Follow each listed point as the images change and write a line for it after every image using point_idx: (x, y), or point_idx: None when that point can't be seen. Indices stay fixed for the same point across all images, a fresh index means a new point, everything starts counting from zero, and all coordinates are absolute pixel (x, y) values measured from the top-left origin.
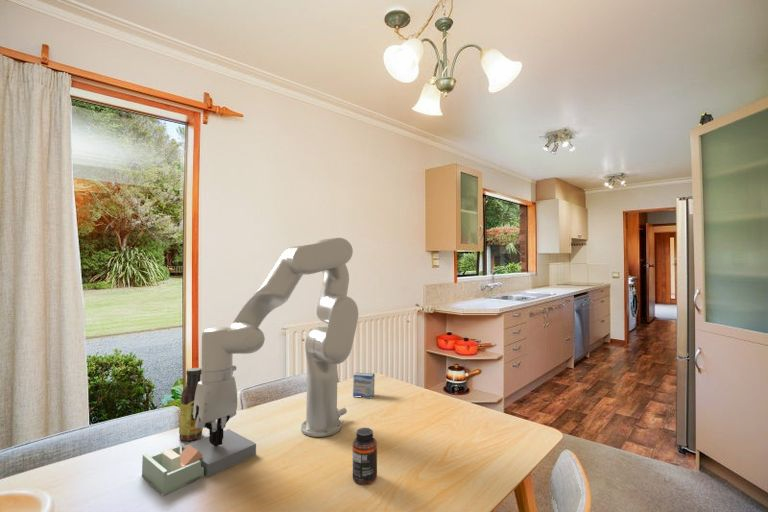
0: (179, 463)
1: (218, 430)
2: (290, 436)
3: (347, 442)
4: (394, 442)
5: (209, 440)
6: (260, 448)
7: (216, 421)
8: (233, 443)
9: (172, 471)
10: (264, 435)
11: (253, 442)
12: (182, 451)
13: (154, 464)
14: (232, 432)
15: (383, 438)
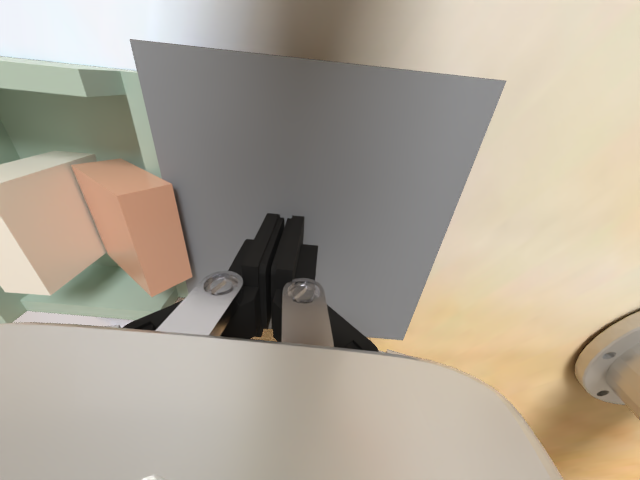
0: (77, 272)
1: (272, 317)
2: (569, 307)
3: (552, 422)
4: (570, 469)
5: (245, 240)
6: (440, 286)
7: (282, 309)
8: (356, 275)
9: (46, 302)
10: (562, 218)
11: (406, 327)
12: (97, 184)
13: None
14: (460, 165)
15: (590, 455)
